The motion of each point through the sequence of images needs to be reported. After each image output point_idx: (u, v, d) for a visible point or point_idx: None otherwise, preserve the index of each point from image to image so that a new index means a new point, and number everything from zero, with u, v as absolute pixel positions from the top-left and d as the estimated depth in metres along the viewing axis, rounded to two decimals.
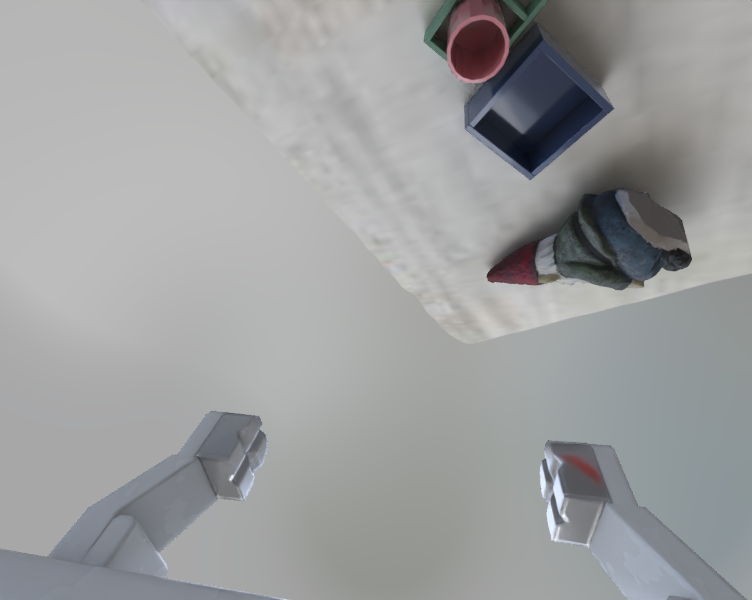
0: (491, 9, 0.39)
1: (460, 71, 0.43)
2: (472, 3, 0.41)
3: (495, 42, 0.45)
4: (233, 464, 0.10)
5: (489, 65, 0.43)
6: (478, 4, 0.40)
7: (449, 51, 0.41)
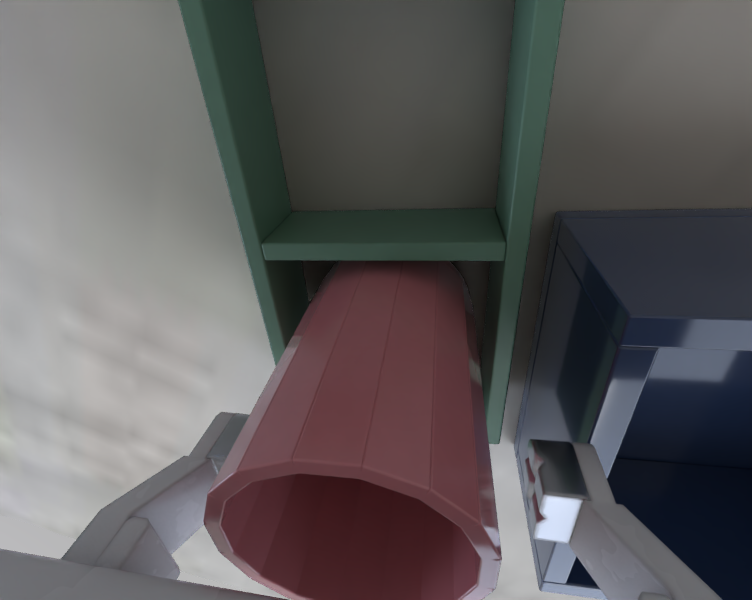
0: (316, 365, 0.09)
1: (369, 566, 0.10)
2: (290, 342, 0.11)
3: None
4: None
5: None
6: (294, 348, 0.10)
7: (260, 578, 0.09)
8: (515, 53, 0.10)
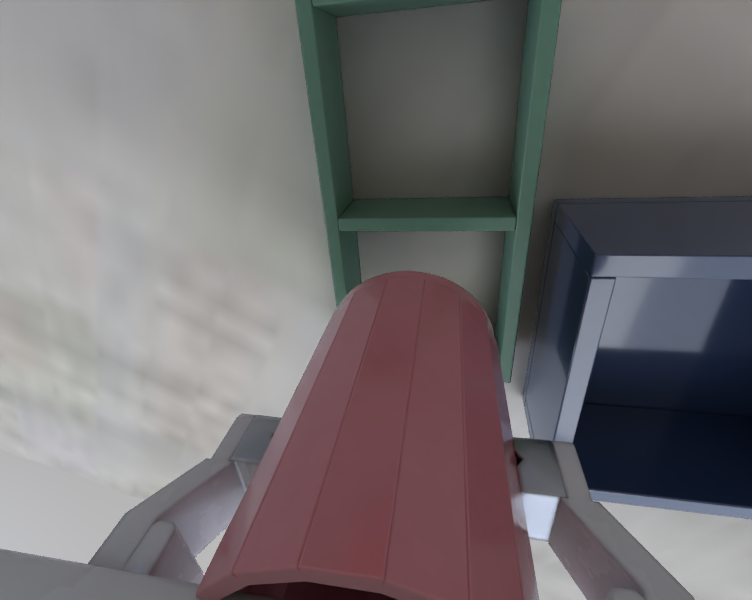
0: (327, 429, 0.08)
1: None
2: (297, 390, 0.10)
3: None
4: None
5: None
6: (301, 400, 0.09)
7: None
8: (523, 86, 0.15)
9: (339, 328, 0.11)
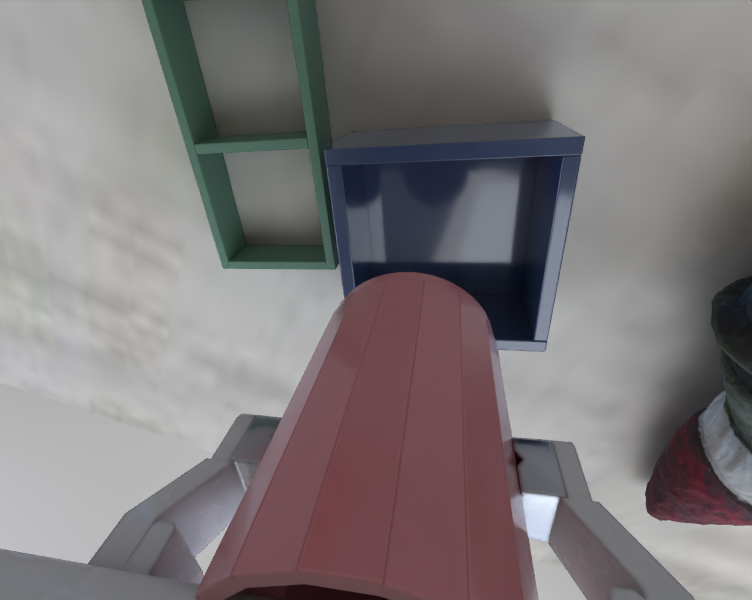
0: (327, 431, 0.08)
1: None
2: (297, 391, 0.10)
3: None
4: None
5: None
6: (301, 402, 0.09)
7: None
8: None
9: (339, 329, 0.11)
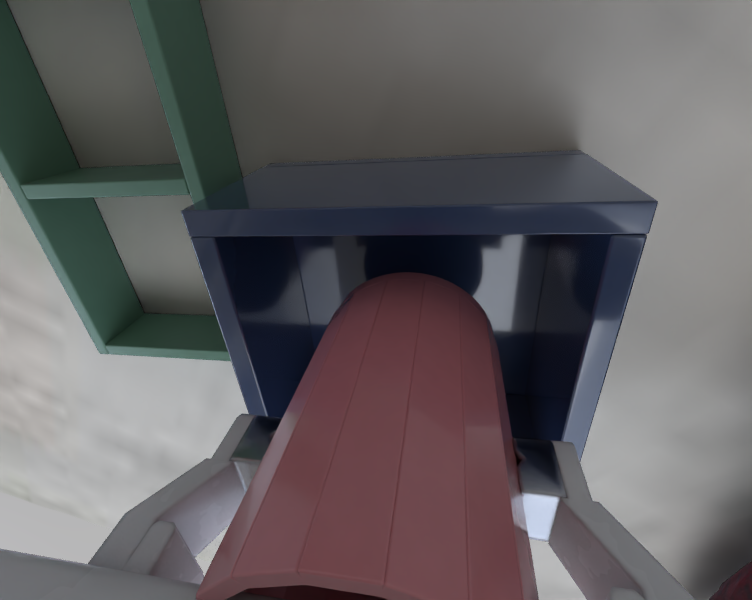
0: (327, 432, 0.08)
1: None
2: (297, 392, 0.10)
3: None
4: None
5: None
6: (301, 402, 0.09)
7: None
8: None
9: (339, 329, 0.11)
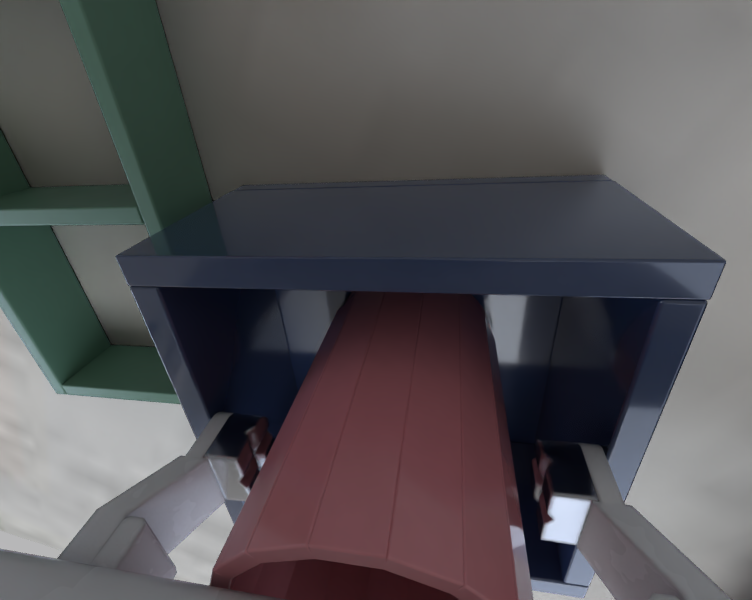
0: (333, 421, 0.08)
1: None
2: (303, 385, 0.11)
3: None
4: (242, 465, 0.10)
5: None
6: (307, 395, 0.10)
7: None
8: None
9: (343, 326, 0.12)
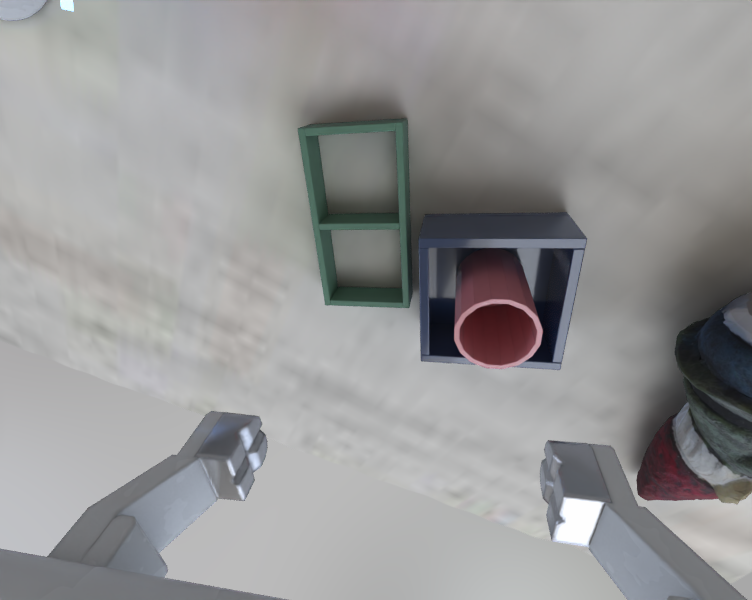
0: (485, 283, 0.29)
1: (495, 356, 0.31)
2: (464, 283, 0.32)
3: None
4: (233, 464, 0.10)
5: (528, 328, 0.30)
6: (469, 282, 0.31)
7: (464, 352, 0.30)
8: None
9: (472, 265, 0.33)
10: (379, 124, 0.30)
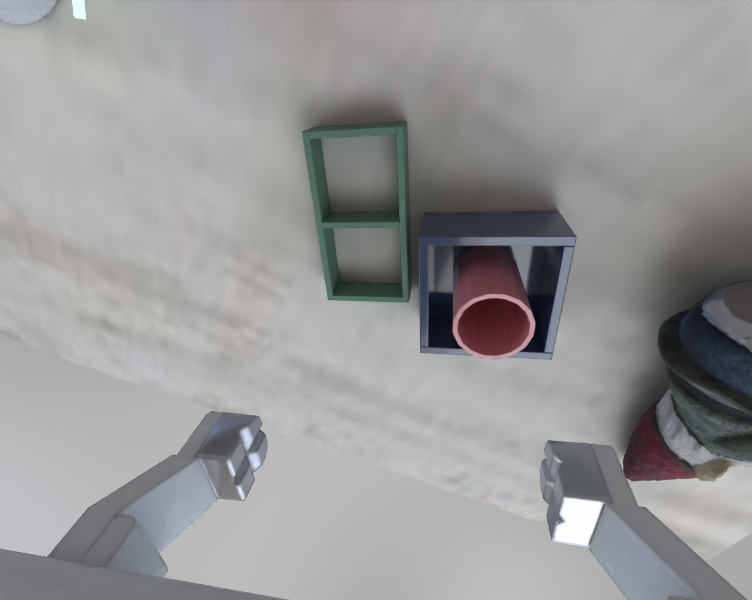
0: (481, 279, 0.31)
1: (491, 347, 0.33)
2: (461, 278, 0.34)
3: None
4: (233, 464, 0.10)
5: (522, 320, 0.32)
6: (467, 278, 0.33)
7: (462, 343, 0.32)
8: None
9: (469, 262, 0.35)
10: (381, 128, 0.31)
